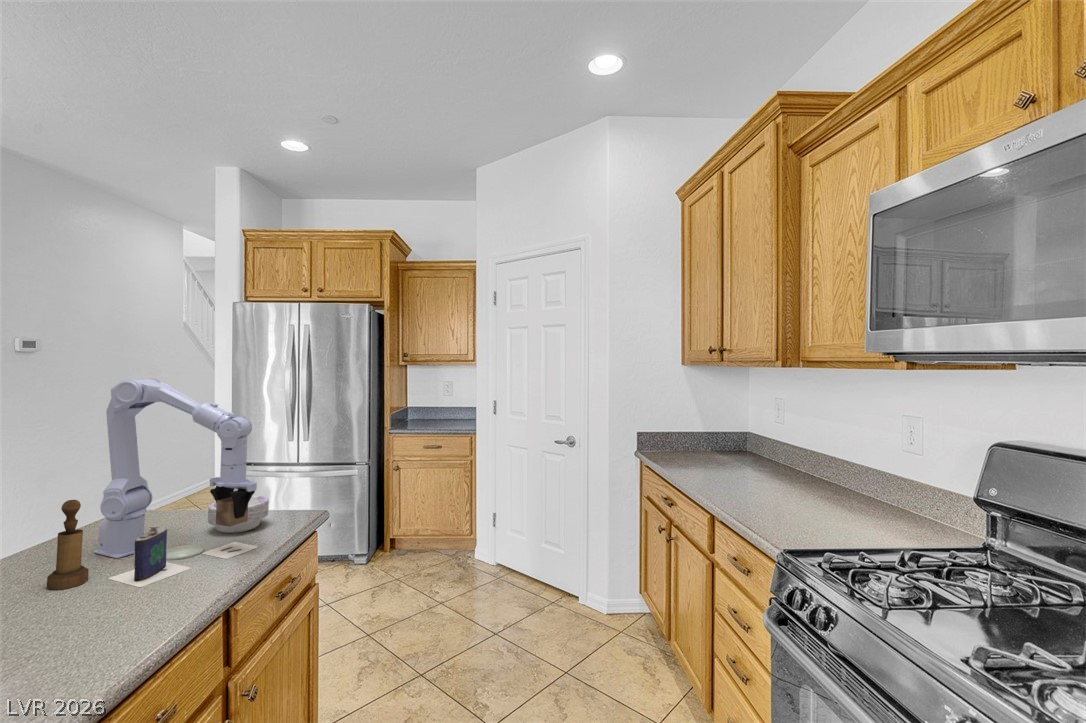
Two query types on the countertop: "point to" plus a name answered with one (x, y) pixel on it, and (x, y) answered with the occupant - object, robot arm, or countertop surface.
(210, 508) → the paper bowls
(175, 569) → the code tile
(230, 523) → the walnut block
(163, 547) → the flask
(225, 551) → the code tile
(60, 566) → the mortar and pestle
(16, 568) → the countertop surface
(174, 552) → the plate
